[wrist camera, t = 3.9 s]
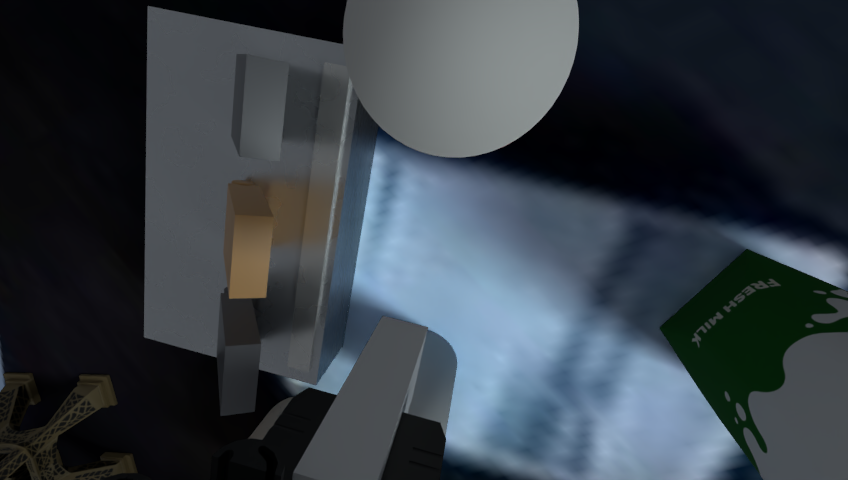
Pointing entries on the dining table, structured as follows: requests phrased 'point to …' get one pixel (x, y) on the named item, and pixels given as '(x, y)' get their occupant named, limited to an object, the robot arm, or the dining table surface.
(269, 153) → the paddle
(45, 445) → the eiffel tower
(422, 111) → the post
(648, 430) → the dining table surface
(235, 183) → the block
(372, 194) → the dining table surface
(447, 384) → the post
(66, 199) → the dining table surface
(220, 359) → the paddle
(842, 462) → the milk carton
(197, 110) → the block
